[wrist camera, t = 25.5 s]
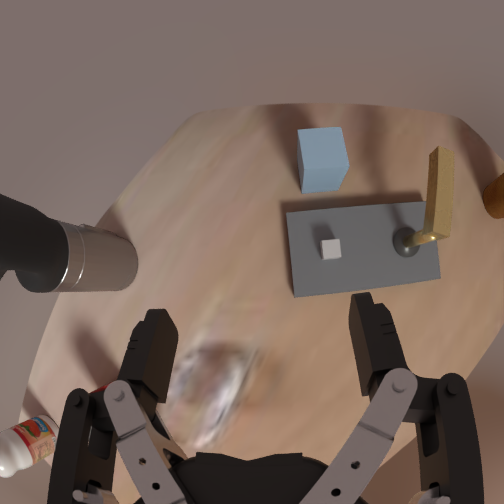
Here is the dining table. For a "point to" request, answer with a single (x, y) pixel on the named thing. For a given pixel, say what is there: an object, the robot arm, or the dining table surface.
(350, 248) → the plate
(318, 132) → the light blue block
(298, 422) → the dining table surface
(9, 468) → the fruit juice
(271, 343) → the dining table surface
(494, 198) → the disposable coffee cup
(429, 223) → the golden lever handle
